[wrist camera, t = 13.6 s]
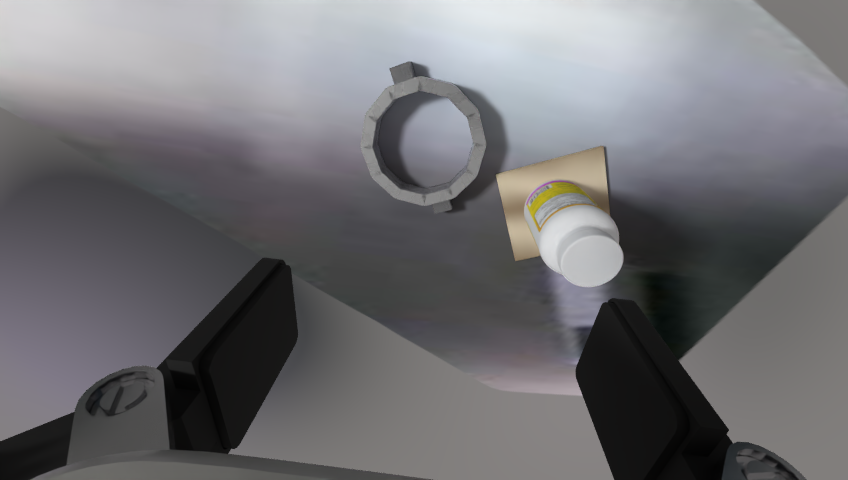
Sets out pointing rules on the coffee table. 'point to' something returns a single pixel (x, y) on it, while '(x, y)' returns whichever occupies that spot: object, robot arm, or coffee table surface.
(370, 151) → the collar
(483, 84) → the coffee table surface
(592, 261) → the supplement bottle
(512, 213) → the mat
